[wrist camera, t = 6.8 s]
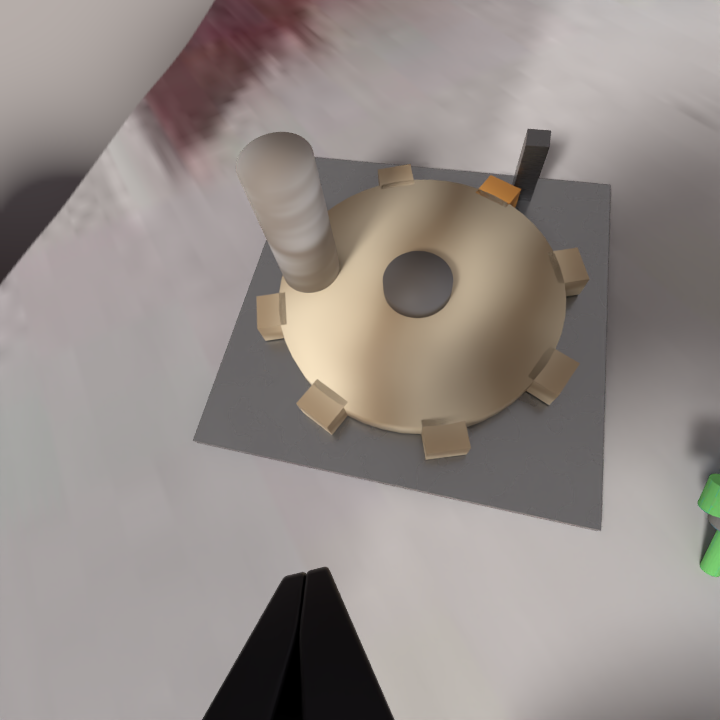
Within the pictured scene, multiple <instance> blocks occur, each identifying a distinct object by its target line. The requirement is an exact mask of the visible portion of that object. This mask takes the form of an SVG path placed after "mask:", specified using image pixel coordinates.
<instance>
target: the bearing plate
mask: <svg viewBox="0 0 720 720" xmlns="http://www.w3.org/2000/svg"><path fill="white" fill-rule="evenodd" d="M550 136H551V131H550V130H536V129H528V130H527V133H526V137H525V140H524V144H523V147H522V151H521V154H520V158H519V161H518V165H517V169H516V172H515V176H510V175H499V174H488V173H477V172H466V171H456V170H445V169H434V168H423V167H412V166H411V170H412V174H413V179H414V180H440V181H449V182H454V183H459V184H464V185H467V186H471V187H474V188H477V189H479V188H480V187H481V186H482V184H483V183H484V182H485V181H486V180H487V179H488V177H489V176H490V175H492V176H494V177H496V178H498V179H500V180H503V181H505V182H507V183H509V184H511V185H513V186H515V187H517V188H519V189H521V191H520V194H519V198H518V201H517V204H516V207H515V208H516V209H517V210H518V211H520V212H521V213H522V214H523V215H525V216H526V217H527V218H528V219H529V220H530V221H531V222H532V223H533V224H534V225H535V226H536V227H537V228H538V230H539V231H540V232H541V233H542V234H543V236H544V237H545V238H546V240H547V242H548V243H549V245H550V246H551V248H552V250H553V251H558V250H564V249H571V248H577V247H578V250H579V252H580V255H581V258H582V260H583V263H584V266H585V268H586V271H587V274H588V276H589V281H588V282H587V284H586V285H585V287H584V288H583V290H582V291H581V293H580V294H579V295H572V296H566V314H565V320H564V325H563V330H562V334H561V336H560V339H559V341H558V344H557V347H556V350H558V351H560V352H561V353H563V354H565V355H566V356H568V357H570V358H572V359H573V360H575V361H577V362H578V363H580V364H579V366H578V367H577V369H576V370H575V372H574V373H573V375H572V376H571V378H570V379H569V381H568V382H567V384H566V385H565V387H564V388H563V390H562V391H561V393H560V394H559V396H558V397H557V398H556V399H555V400H554V401H553V402H552V403H551V404H550V405H548V404H546V403H545V402H543V401H542V400H540V399H539V398H537V397H535V396H534V395H532V394H531V393H529V392H527V391H525V392H524V393H523V394H522V395H521V396H520V397H519V398H518V399H517V400H516V401H515V402H513V403H512V404H511V405H509V406H508V407H506V408H505V409H504V410H502V411H501V412H499V413H498V414H496V415H494V416H492V417H490V418H488V419H486V420H484V421H482V422H480V423H477V424H474V425H471V426H468V427H467V432H468V437H469V441H470V446H471V449H470V450H469V452H468V453H467V454H466V455H458V456H451V457H443V458H436V459H428V460H426V459H425V453H424V447H423V441H422V436H421V434H408V433H399V432H393V431H388V430H383V429H379V428H376V427H373V426H370V425H367V424H364V423H362V422H360V421H358V420H356V419H354V418H352V417H350V416H347V417H346V418H345V420H344V421H343V422H342V423H341V425H340V426H339V427H338V428H337V430H336V431H335V432H334V433H333V435H331V434H330V433H329V432H327V431H326V430H325V429H324V428H322V427H321V426H320V425H318V424H317V423H316V422H315V421H313V420H312V419H311V418H310V417H308V416H307V415H306V414H304V413H303V412H302V411H301V409H300V408H299V407H298V405H297V404H296V403H297V402H298V401H299V400H300V398H301V397H302V396H303V395H304V394H305V393H306V391H307V390H308V389H309V388H310V387H311V384H310V383H309V382H308V381H307V379H306V378H305V376H304V375H303V373H302V372H301V370H300V368H299V367H298V365H297V364H296V362H295V360H294V359H293V357H292V355H291V353H290V351H289V348H288V346H287V344H286V342H285V339H284V338H281V339H274V340H268V341H265V339H264V338H263V336H262V335H261V333H260V332H259V331H258V329H257V298H256V296H263V295H270V294H276V293H279V291H280V285H281V280H282V276H283V274H282V272H281V270H280V268H279V265H278V263H277V261H276V259H275V257H274V254H273V252H272V250H271V248H270V246H269V243H268V241H267V240H266V242H265V245H264V248H263V251H262V253H261V256H260V259H259V262H258V264H257V267H256V270H255V272H254V275H253V278H252V281H251V283H250V286H249V289H248V292H247V294H246V297H245V300H244V302H243V305H242V308H241V311H240V313H239V316H238V319H237V322H236V324H235V327H234V330H233V332H232V335H231V338H230V341H229V343H228V346H227V349H226V352H225V354H224V357H223V360H222V362H221V365H220V368H219V371H218V373H217V376H216V379H215V382H214V384H213V387H212V390H211V392H210V395H209V398H208V401H207V403H206V406H205V409H204V412H203V414H202V417H201V420H200V422H199V425H198V428H197V431H196V433H195V436H194V439H193V441H195V442H197V443H201V444H206V445H210V446H215V447H219V448H224V449H228V450H233V451H238V452H242V453H247V454H251V455H256V456H260V457H265V458H269V459H274V460H278V461H283V462H287V463H292V464H296V465H301V466H306V467H310V468H315V469H319V470H324V471H328V472H333V473H337V474H342V475H346V476H351V477H355V478H360V479H364V480H369V481H373V482H378V483H383V484H387V485H392V486H396V487H401V488H405V489H410V490H414V491H419V492H423V493H428V494H432V495H437V496H441V497H446V498H450V499H455V500H460V501H464V502H469V503H473V504H478V505H482V506H487V507H491V508H496V509H500V510H505V511H509V512H514V513H518V514H523V515H527V516H532V517H537V518H541V519H546V520H550V521H555V522H559V523H564V524H568V525H573V526H577V527H582V528H586V529H591V530H595V531H600V530H601V514H602V477H603V440H604V402H605V365H606V328H607V291H608V254H609V217H610V185H607V184H596V183H585V182H575V181H564V180H553V179H542V178H539V176H540V173H541V170H542V167H543V164H544V161H545V158H546V156H547V153H548V150H549V147H550ZM315 162H316V166H317V170H318V174H319V178H320V182H321V187H322V191H323V195H324V199H325V203H326V207H327V211H328V210H330V209H331V208H332V207H334V206H335V205H337V204H338V203H340V202H342V201H344V200H345V199H347V198H349V197H351V196H353V195H355V194H357V193H360V192H362V191H364V190H367V189H370V188H373V187H376V186H379V180H378V169H384V168H390V167H396V166H401V165H391V164H380V163H369V162H358V161H347V160H337V159H326V158H315Z"/></svg>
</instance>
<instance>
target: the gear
mask: <svg viewBox="0 0 720 720" xmlns="http://www.w3.org/2000/svg"><path fill="white" fill-rule="evenodd" d="M698 506H699V507H700V508H701V509H702V510H703V511H705V512H706V513H708V514H709V515H708V521H709V522H710V524H711V525H712V526H713V527H714V528H715V529H717V531H716V533H715V535H714V537H713V539H712V541H711V543H710V545H709V547H708V549H707V551H706V553H705V555H704V557H703V559H702V561H701V563H700V567H701V569H702V570H703V571H704V572H706V573H707V574H709V575H711V576H714V577H719V576H720V474H711V475H710V476H709V478H708V481H707V483H706V485H705V487H704V489H703V492H702V494H701V496H700V498H699V500H698Z"/></svg>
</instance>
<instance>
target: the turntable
mask: <svg viewBox="0 0 720 720" xmlns="http://www.w3.org/2000/svg"><path fill="white" fill-rule="evenodd" d="M236 173H237V176H238V178H239V180H240V182H241V184H242V187H243V189H244V191H245V193H246V195H247V198H248V200H249V202H250V204H251V206H252V209H253V211H254V213H255V215H256V217H257V219H258V222H259V224H260V226H261V228H262V230H263V233H264V235H265V237H266V239H267V241H268V243H269V246H270V248H271V250H272V252H273V254H274V257H275V259H276V261H277V263H278V265H279V268H280V270H281V272H282V274H283V276H282V280H281V285H280V291H279V293H276V294H270V295H263V296H256V298H257V329H258V331H259V332H260V333H261V335H262V336H263V338H264V339H265V341H268V340H274V339H281V338H284V339H285V342H286V344H287V346H288V348H289V351H290V353H291V355H292V357H293V359H294V360H295V362H296V364H297V365H298V367H299V368H300V370H301V372H302V373H303V375H304V376H305V378H306V379H307V381H308V382H309V383H310V384H311V387H310V388H309V389H308V390H307V391H306V393H305V394H304V395H303V396H302V397H301V398H300V400H299V401H298V402H297V403H296V404H297V405H298V407H299V408H300V409H301V411H302V412H303V413H304V414H306V415H307V416H308V417H310V418H311V419H312V420H313V421H315V422H316V423H317V424H318V425H320V426H321V427H322V428H324V429H325V430H326V431H327V432H329V433H330V434H331V435H333V433H334V432H335V431H336V430H337V428H338V427H339V426H340V425H341V423H342V422H343V421H344V420H345V418H346V417H347V416H350V417H352V418H354V419H356V420H358V421H360V422H362V423H364V424H367V425H370V426H373V427H376V428H379V429H383V430H388V431H393V432H399V433H408V434H421V436H422V441H423V447H424V453H425V459H426V460H428V459H436V458H443V457H451V456H458V455H466V454H467V453H468V452H469V450H470V449H471V446H470V441H469V437H468V432H467V427H468V426H471V425H474V424H477V423H480V422H482V421H484V420H486V419H488V418H490V417H492V416H494V415H496V414H498V413H499V412H501V411H502V410H504V409H505V408H506V407H508V406H509V405H511V404H512V403H513V402H515V401H516V400H517V399H518V398H519V397H520V396H521V395H522V394H523V393H524V392H525V391H527V392H529V393H531V394H532V395H534V396H535V397H537V398H539V399H540V400H542V401H543V402H545V403H546V404H548V405H550V404H551V403H552V402H553V401H554V400H555V399H556V398H557V397H558V396H559V394H560V393H561V391H562V390H563V388H564V387H565V385H566V384H567V382H568V381H569V379H570V378H571V376H572V375H573V373H574V372H575V370H576V369H577V367H578V366H579V364H580V363H578V362H577V361H575V360H573V359H572V358H570V357H568V356H566V355H565V354H563V353H561V352H560V351H558V350H556V347H557V344H558V341H559V339H560V336H561V334H562V330H563V325H564V320H565V314H566V296H572V295H579V294H580V293H581V291H582V290H583V288H584V287H585V285H586V284H587V282H588V281H589V276H588V274H587V271H586V268H585V266H584V263H583V260H582V258H581V255H580V252H579V250H578V247H577V248H571V249H564V250H558V251H553V250H552V248H551V246H550V245H549V243H548V242H547V240H546V238H545V237H544V236H543V234H542V233H541V232H540V231H539V230H538V228H537V227H536V226H535V225H534V224H533V223H532V222H531V221H530V220H529V219H528V218H527V217H526V216H525V215H523V214H522V213H521V212H520V211H518V210H517V209H516V208H515V207H516V204H517V201H518V198H519V194H520V191H521V189H519V188H517V187H515V186H513V185H511V184H509V183H507V182H505V181H503V180H500V179H498V178H496V177H494V176H492V175H490V176H489V177H488V179H487V180H486V181H485V182H484V183H483V184H482V186H481V187H480V188H479V189H477V188H474V187H471V186H467V185H464V184H459V183H454V182H449V181H440V180H414V179H413V174H412V170H411V165H410V164H408V165H402V166H396V167H390V168H384V169H378V180H379V186H376V187H373V188H370V189H367V190H364V191H362V192H360V193H357V194H355V195H353V196H351V197H349V198H347V199H345V200H344V201H342V202H340V203H338V204H337V205H335V206H334V207H332V208H331V209H330V210H328V211H327V207H326V203H325V199H324V195H323V191H322V187H321V182H320V178H319V174H318V170H317V166H316V162H315V157H314V153H313V150H312V147H311V145H310V144H309V143H308V142H307V141H306V140H305V139H304V138H303V137H301V136H299V135H297V134H293V133H289V132H275V133H269V134H266V135H263V136H261V137H258V138H256V139H255V140H253V141H252V142H250V143H249V144H248V145H247V146H246V147H245V148H244V149H243V150H242V151H241V153H240V154H239V156H238V158H237V162H236Z"/></svg>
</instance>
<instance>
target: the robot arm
mask: <svg viewBox="0 0 720 720" xmlns="http://www.w3.org/2000/svg"><path fill="white" fill-rule="evenodd" d="M202 720H394V717H393V715H392V713H391V711H390V708H389V706H388V704H387V701H386V699H385V697H384V694H383V692H382V690H381V688H380V685H379V683H378V681H377V678H376V676H375V674H374V671H373V669H372V667H371V664H370V662H369V660H368V658H367V655H366V653H365V651H364V648H363V646H362V644H361V641H360V639H359V637H358V635H357V632H356V630H355V628H354V625H353V623H352V621H351V618H350V616H349V614H348V612H347V609H346V607H345V605H344V602H343V600H342V598H341V595H340V593H339V591H338V588H337V586H336V584H335V582H334V579H333V577H332V575H331V572H330V570H329V568H327V567H322V568H318V569H314V570H310V571H308V572H307V574H306V573H304V572H301V573H297V574H292V575H288V576H286V577H284V578H283V579H282V581H281V583H280V584H279V586H278V588H277V590H276V591H275V593H274V595H273V597H272V598H271V600H270V602H269V604H268V605H267V607H266V609H265V611H264V612H263V614H262V616H261V618H260V619H259V621H258V623H257V625H256V626H255V628H254V630H253V632H252V633H251V635H250V637H249V639H248V640H247V642H246V644H245V646H244V647H243V649H242V651H241V653H240V654H239V656H238V658H237V660H236V661H235V663H234V665H233V667H232V668H231V670H230V672H229V674H228V675H227V677H226V679H225V681H224V682H223V684H222V686H221V688H220V689H219V691H218V693H217V695H216V696H215V698H214V700H213V702H212V703H211V705H210V707H209V709H208V710H207V712H206V714H205V716H204V717H203V719H202Z"/></svg>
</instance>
